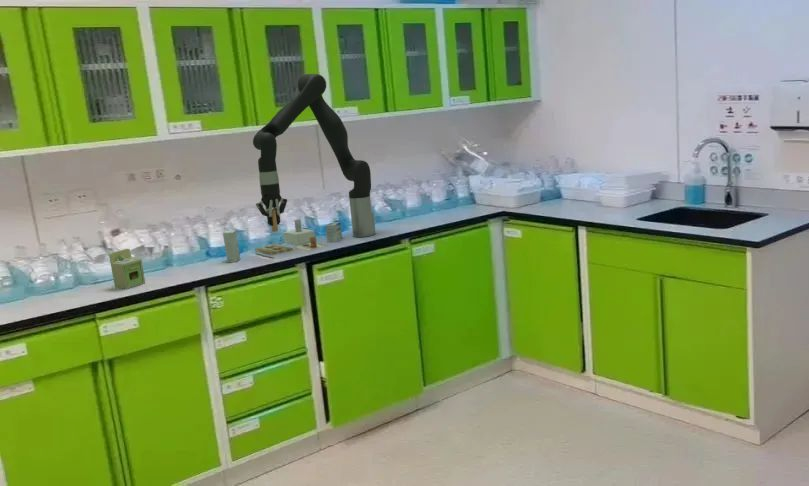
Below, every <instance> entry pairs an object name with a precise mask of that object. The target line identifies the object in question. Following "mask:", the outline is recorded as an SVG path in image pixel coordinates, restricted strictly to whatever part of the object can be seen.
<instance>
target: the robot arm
mask: <svg viewBox="0 0 809 486" xmlns="http://www.w3.org/2000/svg"><path fill="white" fill-rule="evenodd" d="M297 88H298V91H299V94H297V96H296V97H294V98H293V99H292V100H291V101H289V102H288V103H287V104H285V105H284V106H283V107H281V108H280V110H279V111H277V112H276V114H275V115H274V116H273V117H272V118H271V120H269V122H268V123H267V124H265V125H264V126H263V127H262V128H261V129H259V130H258V131H257V133H256V134H255V135H254V136H253V139H252V145H253V147H254V148H255V149H256V150H259V151H260V157H259V158H258V159H257V163H258V172H259V173H258V175H259V176H258V177H259V178H258V179H259V187H260V188H259V189H260V194H261V200H260V201H259V202H257V203H255V206H256V208H257V209H258V211H259V213H260V214H261V215H262V216H264V217H266V219H267V225H269V227H272V226H273V219H272V217H271V216H272V209H276V217H277V226H278V225H280V223H281V214H284V212H285V210H286V206H287V202H288V198H283V197H282V196H281V189H280V179H279V174H278V168H277V161H276V158H277V150H278V149H277V147H278V144H277V139H276V138H277V137H279V136H281V135H282V134H284V133H285V132H286V131H287V129H289V127H291V125H292V123H294V122H295V120H296V119H297V118H298V117H299V116H300V115H301V114H302V113H303V112H304V111H305V110H306V109H307V108H308V107H309V108H310V110H311V112H312V113H313V115H314V118H315V119H316V121H317V123H318V125H319V127H320V128H321V131H322V133H323V135H324V136H325V139H326V140H327V142H328V144H329V146H330V147H331V150H332V152H333V154H334V156H335V157H336V160H337V162H338V164H339V167H340V170H341V172H342V174H343V176H344V177H345V179H346V180H348V181H350V182H353V188H352V189H351V190H349V192H348V199H349V207H350V219H351V228H352V230H351V231H352V237H354V238H365V237H366V238H367V237H371V236H374V235H376V233H377V232H376V223H375V213H374V212H372V201H371V190H372V175H371V174H372V173H371V168H370V165H369V163H368V162H367V161H366V160H364V159H363V160H361V159H360V160H356V159H355V158H354V156H353V155H352V153H351V152H350V149H349V144H348V141H349V136H348V131H347V129H346V126H345V125H344V122H343V121H342V119H341V118H340V116H339V115H338V113H336V111H335V110H334V109H333V108H331V106H329V104H328V103H327V102H326V101H325V98H324V97H323V94H324V93H325V92H326V89H327V81H326V78H325V77H324V76H323V75H321V74H318V73H307V74H303V75H301V76H300V77H299V78H298V81H297ZM264 207H265V208H264Z"/></svg>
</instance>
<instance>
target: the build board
mask: <svg viewBox="0 0 809 486" xmlns="http://www.w3.org/2000/svg"><path fill="white" fill-rule="evenodd" d="M254 251H255V252H256V253H255V255H256V256H260V257H265V258H268V259H274V257H272V256H273V255H278V254H282V253H287V252H292V251H294V247H293V246H287V245H283V244H278V243H275V244H270V245H265V246H260V247H256V248H254ZM257 252H258V253H257ZM260 253H262V254H260ZM264 254H266V255H264ZM269 255H270V256H269Z"/></svg>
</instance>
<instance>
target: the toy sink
mask: <svg viewBox="0 0 809 486" xmlns="http://www.w3.org/2000/svg"><path fill="white" fill-rule="evenodd" d="M108 256H109V262H110V267H111V273H112V278H113V284H114V285H113V286H114V288H116V289H121V290H129V289H131V288H134V287H137V286H140V285H144V284H146V278H145V273H144V268H143V267H144V266H143V259H142V258H139V257H132V254H131V249H130V248H123V249H120V250H116V251H112V252H110V253H109V254H108Z"/></svg>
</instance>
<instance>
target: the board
mask: <svg viewBox="0 0 809 486" xmlns="http://www.w3.org/2000/svg"><path fill="white" fill-rule="evenodd" d="M324 247H328V244H323V243H317V238H316V236H315V237H310V242H309V243H305V244H300V245H294V246H293V249H294V248H295V249H299V250H303V251H310V250H316V249H319V248H320V249H321V248H324Z"/></svg>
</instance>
